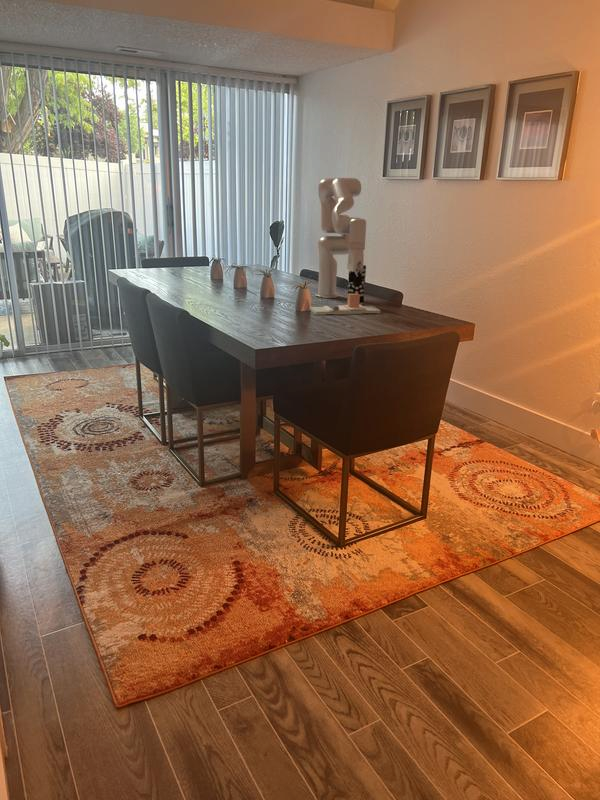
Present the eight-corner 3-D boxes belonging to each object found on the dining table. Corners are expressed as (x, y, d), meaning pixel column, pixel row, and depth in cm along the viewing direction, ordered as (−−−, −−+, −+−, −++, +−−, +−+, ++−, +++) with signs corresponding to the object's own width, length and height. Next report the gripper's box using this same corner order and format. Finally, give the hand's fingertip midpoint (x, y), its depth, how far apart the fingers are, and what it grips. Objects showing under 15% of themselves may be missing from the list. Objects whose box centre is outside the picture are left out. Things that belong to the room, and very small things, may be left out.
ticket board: (309, 310, 289) (309, 302, 288) (371, 308, 297) (372, 301, 296) (316, 315, 278) (316, 307, 277) (380, 313, 286) (381, 305, 285)
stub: (343, 306, 292) (344, 292, 290) (359, 305, 294) (360, 292, 292) (350, 310, 283) (351, 296, 281) (366, 309, 285) (367, 295, 282)
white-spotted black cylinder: (347, 307, 299) (349, 266, 292) (346, 303, 307) (348, 264, 300) (364, 307, 299) (366, 266, 292) (362, 304, 307) (365, 264, 300)
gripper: (343, 244, 285) (341, 281, 291) (355, 247, 269) (353, 286, 275) (358, 244, 287) (356, 281, 292) (371, 247, 271) (368, 286, 276)
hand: (354, 283), depth 284 cm, fingers open, 9 cm apart
